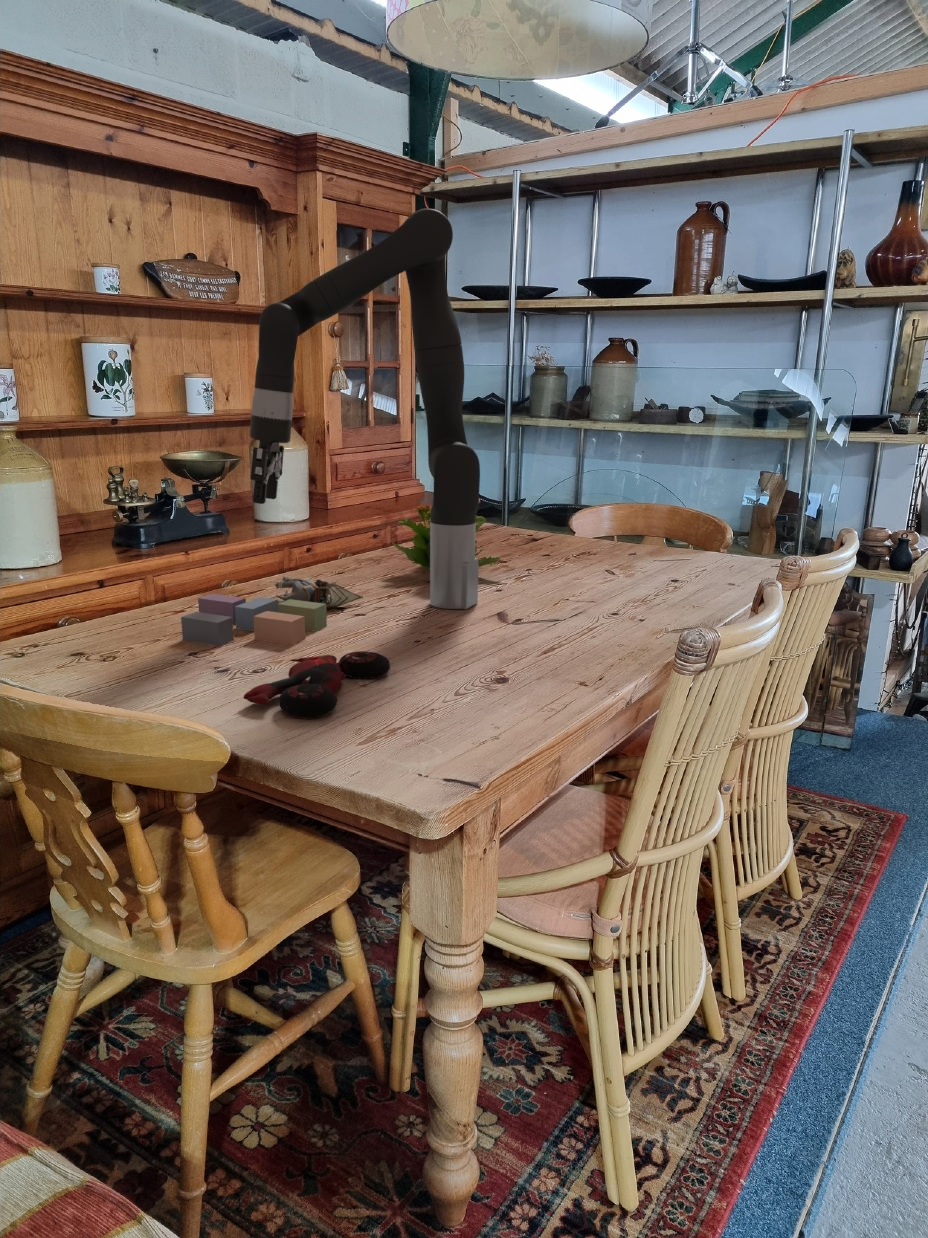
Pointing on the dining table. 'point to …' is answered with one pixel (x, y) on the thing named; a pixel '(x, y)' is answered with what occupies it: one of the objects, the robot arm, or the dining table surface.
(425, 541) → the potted flower
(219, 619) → the charcoal brick
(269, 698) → the toy motorcycle
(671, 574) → the dining table surface
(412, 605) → the dining table surface
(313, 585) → the figurine
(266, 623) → the terracotta brick
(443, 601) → the robot arm
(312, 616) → the olive brick
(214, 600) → the plum brick
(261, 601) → the slate blue brick
